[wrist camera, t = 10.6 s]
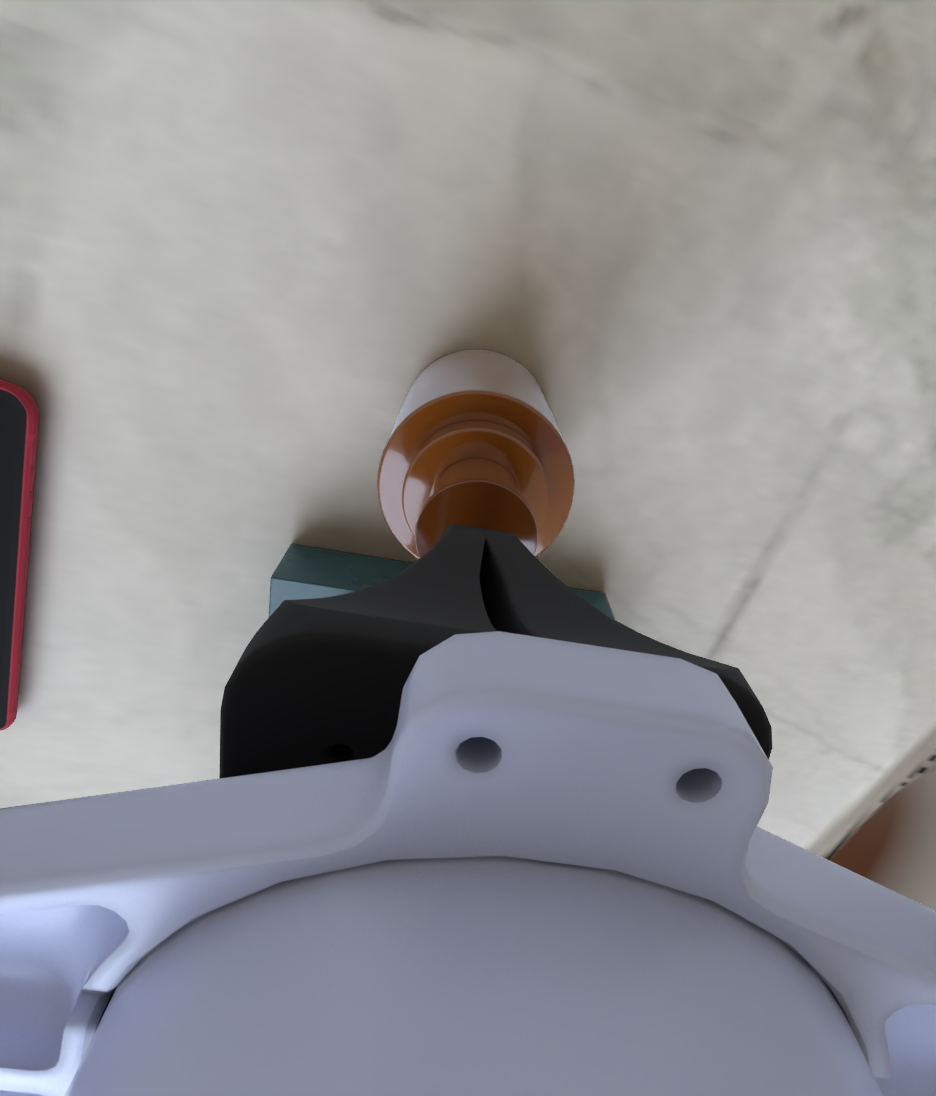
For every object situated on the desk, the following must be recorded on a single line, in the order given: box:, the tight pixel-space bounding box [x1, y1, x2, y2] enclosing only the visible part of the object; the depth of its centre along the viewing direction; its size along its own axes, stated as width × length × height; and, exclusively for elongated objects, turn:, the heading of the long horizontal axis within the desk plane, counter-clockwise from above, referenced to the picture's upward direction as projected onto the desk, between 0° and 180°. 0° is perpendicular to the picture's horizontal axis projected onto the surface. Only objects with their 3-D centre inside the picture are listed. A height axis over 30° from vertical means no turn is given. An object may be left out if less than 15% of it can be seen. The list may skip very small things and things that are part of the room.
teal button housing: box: [269, 544, 615, 620], centre depth 25 cm, size 12×9×4 cm
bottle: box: [377, 349, 575, 559], centre depth 18 cm, size 5×5×10 cm
